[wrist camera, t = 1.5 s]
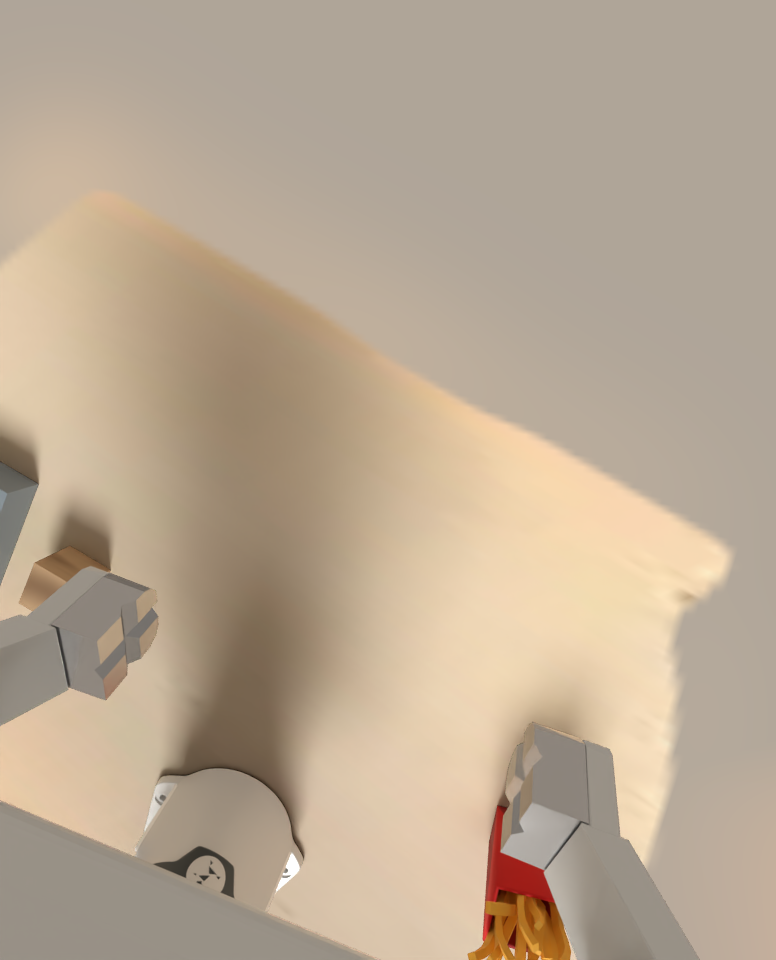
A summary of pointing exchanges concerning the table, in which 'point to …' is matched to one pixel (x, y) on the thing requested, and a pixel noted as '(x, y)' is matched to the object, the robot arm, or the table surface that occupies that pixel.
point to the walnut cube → (54, 575)
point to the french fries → (518, 909)
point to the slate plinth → (12, 510)
